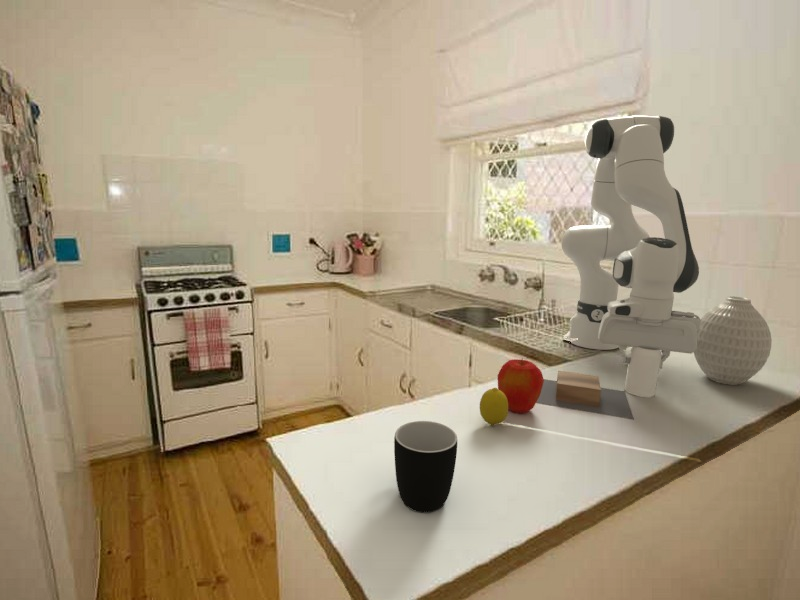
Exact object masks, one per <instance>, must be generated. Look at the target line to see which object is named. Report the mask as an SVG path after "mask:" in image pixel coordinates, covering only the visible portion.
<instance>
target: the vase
mask: <svg viewBox="0 0 800 600" xmlns="http://www.w3.org/2000/svg"><path fill="white" fill-rule="evenodd" d="M700 320H701V324H700V328H699V330H698V331H697V347H696V350H695V351H694V352H693V355H694V358H695V361H696V362H697V364H698V366H699V368H700V370H701V371H702V372H703V374H705V376H706V377H707V378H708V379H709V380H710V381H712V382H713V381H714V382H716V383H718V384H723V385H731V386H737V385H740V384H742V383H745V382H746V381H748V380H750V379H751V378H753V377H754V376H756V374H758V372H760V371H761V370H762V369H763V367H764V366H765V364H766V363H767V361H768V359H769V357H770V354H771V350H772V341H773V340H772V334H771V333H772V332H771V331H770V328H769V324H768V323H767V321H766V319H765V318H764V317H763V315H762V314H761V313H760V312H759V311H758V310H757V309H756V308H755V307H754V306H753V305H752V301H751V299H750V298H748V297H741V296H729V295H728V296H726V298H725V300H724V301H723V302H721V303H720V304H717V305H716V306H714V307H713V308H712V309H710V310H709V311H707V312H706V313H705V314H704V315H703V316H702V317H701V318H700Z"/></svg>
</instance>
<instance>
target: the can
mask: <svg viewBox="0 0 800 600" xmlns="http://www.w3.org/2000/svg"><path fill="white" fill-rule="evenodd" d="M629 356H630V364H627V369H626V371H627V372H626V376H625V382H624V390H625V392H627V393H628V394H630V395H633V396H636V397H641V398H652V397H655V394H656V389H657V388H656V387H657V383H658V380H659V379H658V378H659V375H660V374H659V373H660V369H661V368H660V363H661V357H662V352H661V350H659V349H647V348H643V347H639V346H638V347H631V348H630V353H629Z"/></svg>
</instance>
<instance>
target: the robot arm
mask: <svg viewBox="0 0 800 600" xmlns="http://www.w3.org/2000/svg"><path fill="white" fill-rule="evenodd" d="M674 136H675V124H674V122H673V120H672V119H671V118H669V117H667V116H661V115H655V116H649V115H630V116H622V117H621V116H620V117H613V118H606V117H605V118H604V117H603V118H600V119H597V120H594V121H593V122H591V124H590V125H589V126H588V130H587V131H586V133H585V139H584V146H585V151H586V154H588V156H590V157H591V158H593V159H598V160H597V162H596V167H595V171H594V177H593V183H592V185H593V186H592V191H591V192H592V193H591V199H590V204H591V207H592V209H593V210H594V211H595V212H596V213H598V214H600V215H602V216H604V217H606V218H608V219H609V224H607V225H591V224H590V225H587V224H584V225H577V226H571V227H569V228H567V229H566V230H565V232H564V233H563V236H562V238H561V243H560V244H561V249H562V251H563V253H564V254H565V255H566V257H568V258H569V259H570V260H571V261H572V262H573V263H574V265H575V266H576V268H577V270H578V272H579V276H580V277H579V278H580V289H579V290H580V293H579V299H578V300H577V305H576V311H577V312H576V313H575V314H574V315H573V316H572V317H571V318H570V319H569V323H568V326H570V327H568V332H567V333H566V334H564V336H563V337H562V339H563V338H567V337H569V338H578V340H576V341H573V342H571V344H573V345H574V346H578V347H581V348H585V349H592V350H600V351H601V350H605V351H607V350H608V351H609V350H614V349H619V351H620V353H621V355H622V364H624V365H628V364H630V354H629V355H628V354H626V353H625V351H626V350H627V348H628V347H631V348H632V347H638V346H639V347H643V348H647V349H659V350H661V353H662V357H661V363H660V369H663V364H664V362H665V361H666V360H667V359H668V358H669V357H670V355H671V352H673V353H682V354H694V351H695V350H696V347H697V331H698V330H699V328H700V324H701V318H700V317H699V315H697V314H695V313H694V312H690V311H687V312H684V311H678V310H673V305H674V299H675V295H674V293H678V294H679V293H680V294H681V293H683V292H685V291H686V290H688V289H690V288H691V287H692V286H693V285H695V283H696V282H697V280H698V278H699V275H700V267H699V262H698V260H697V258H696V255H695V253H694V250H693V246H692V241H691V237H690V233H689V228H688V223H687V217H686V213H685V208H684V207H685V206H684V203H683V200H682V196H681V194H680V192H679V191H678V189H677V188H674V187H673V185H671V183H670V181H669V179H668V177H667V175H666V171H665V158H664V154H665V153H666V152H667V151H668V150H669V149H670V148H671V146H672V144H673V141H674ZM632 206H634V207H638V208H640V209H642V210H645V211H647V212H649V213H651V214H653V215H654V216H656V217H657V218H658V219H659V220H660V223H661V226H662V230H663V234H664V237H663V238H662V237H650V235H649V233H648V232H647V231H646V230H645V228H644V227H642V226H641V225H640V224H639V223H638V222H637V220H636V218H635V217H634V214H633V209H632ZM601 261H607V262H608V261H612V262H613V267H612V273H611V272H609V271H607V270H606V269H604V268H602V267H601V265H600V263H601ZM619 286H620V287H622V288H626V289H631V290H630V294H629V298H623V299H617V298H618V292H619Z"/></svg>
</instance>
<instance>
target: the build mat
mask: <svg viewBox="0 0 800 600" xmlns="http://www.w3.org/2000/svg"><path fill="white" fill-rule="evenodd" d="M543 379H544V382H543V386H542V390H541V393H540V396H539V398H538V400H537V402H536V404H538V405H545V406H552V407H555V408H556V407H558V408H563V409H569V410H575V411H580V412H588V413H594V414H599V415H603V416H604V415H605V416H610V417H618V418H621V419H622V418H623V419H628V420H634V419H635V418H634V415H633V411H632V409H631V406H630V403H629V399H628V397H627V394H626V390H625V391H624V390H619V389H612V388H606V387H605V388H604V387H601V394H600V402H599V407H595V406H589V405H583V404H577V403H571V402H565V401H559V400H556V386H557V380H551V379H545V378H543Z"/></svg>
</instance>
